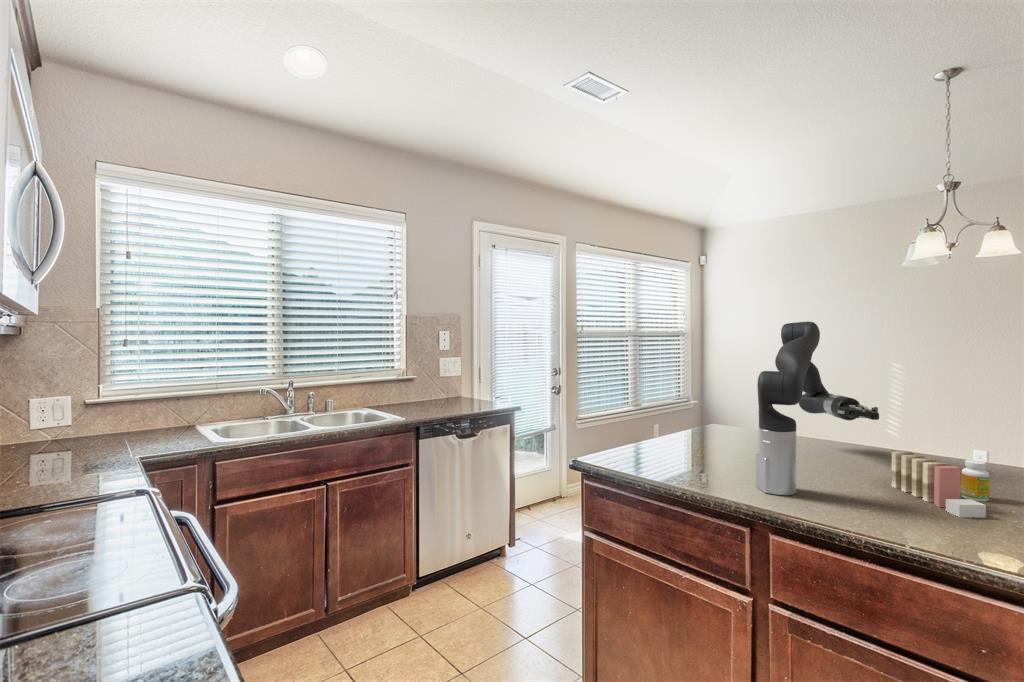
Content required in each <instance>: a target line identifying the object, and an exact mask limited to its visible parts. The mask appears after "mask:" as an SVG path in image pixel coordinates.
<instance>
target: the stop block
mask: <svg viewBox="0 0 1024 682" xmlns="http://www.w3.org/2000/svg"><path fill="white" fill-rule="evenodd" d="M946 511H947V513H948V512H949V513H948V514H951V515H953V516H955V515H956V516H955V517H957V516H958V518H970V519H971V518H973V517H974V518H979V519H980V518H987V512H986V511H987V504H984V503H982V502H980V501H974V500H972V499H966V498H963V499H961V498H960V499H946V508H945V512H946Z"/></svg>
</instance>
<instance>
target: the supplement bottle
mask: <svg viewBox="0 0 1024 682" xmlns="http://www.w3.org/2000/svg"><path fill="white" fill-rule="evenodd" d="M986 464H987V463H986V462H985V461H981V460H975V459H966V460H964V466H965V467H963V468H962V469H961V471H960V497H962V498H963V497H964V498H963V499H972V500H974V501H977V502H980V503H982V502H985V503H986V502H988V501H989V500H990V473H989V472H988V471H987V470H986V466H987V465H986Z"/></svg>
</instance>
